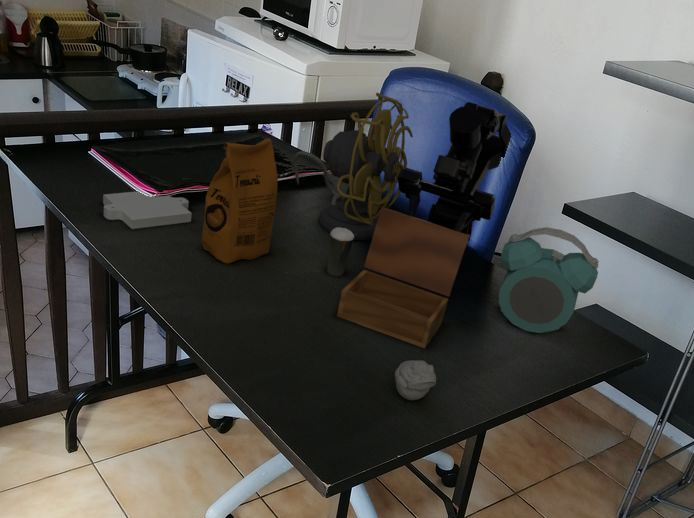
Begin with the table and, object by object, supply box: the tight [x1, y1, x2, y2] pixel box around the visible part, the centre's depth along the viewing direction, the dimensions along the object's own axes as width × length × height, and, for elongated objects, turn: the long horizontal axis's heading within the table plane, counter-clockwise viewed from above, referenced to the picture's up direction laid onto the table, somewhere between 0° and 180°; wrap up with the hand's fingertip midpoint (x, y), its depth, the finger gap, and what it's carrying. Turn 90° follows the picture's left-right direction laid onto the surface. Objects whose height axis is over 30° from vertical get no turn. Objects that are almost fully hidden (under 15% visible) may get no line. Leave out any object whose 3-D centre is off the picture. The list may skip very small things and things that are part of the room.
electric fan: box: [292, 92, 414, 241], centre depth 165 cm, size 26×32×30 cm
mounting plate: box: [102, 190, 193, 230], centre depth 155 cm, size 18×13×2 cm
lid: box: [363, 207, 470, 298], centre depth 136 cm, size 11×17×1 cm
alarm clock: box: [498, 226, 600, 334], centre depth 140 cm, size 17×10×20 cm, turn 71°
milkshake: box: [326, 228, 360, 277], centre depth 146 cm, size 4×5×10 cm
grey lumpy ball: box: [394, 359, 437, 401], centre depth 114 cm, size 6×7×7 cm
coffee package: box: [200, 138, 279, 264], centre depth 142 cm, size 10×12×22 cm
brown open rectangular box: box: [336, 269, 449, 349], centre depth 134 cm, size 11×17×5 cm, turn 68°
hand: (429, 231), depth 142 cm, fingers open, 8 cm apart
